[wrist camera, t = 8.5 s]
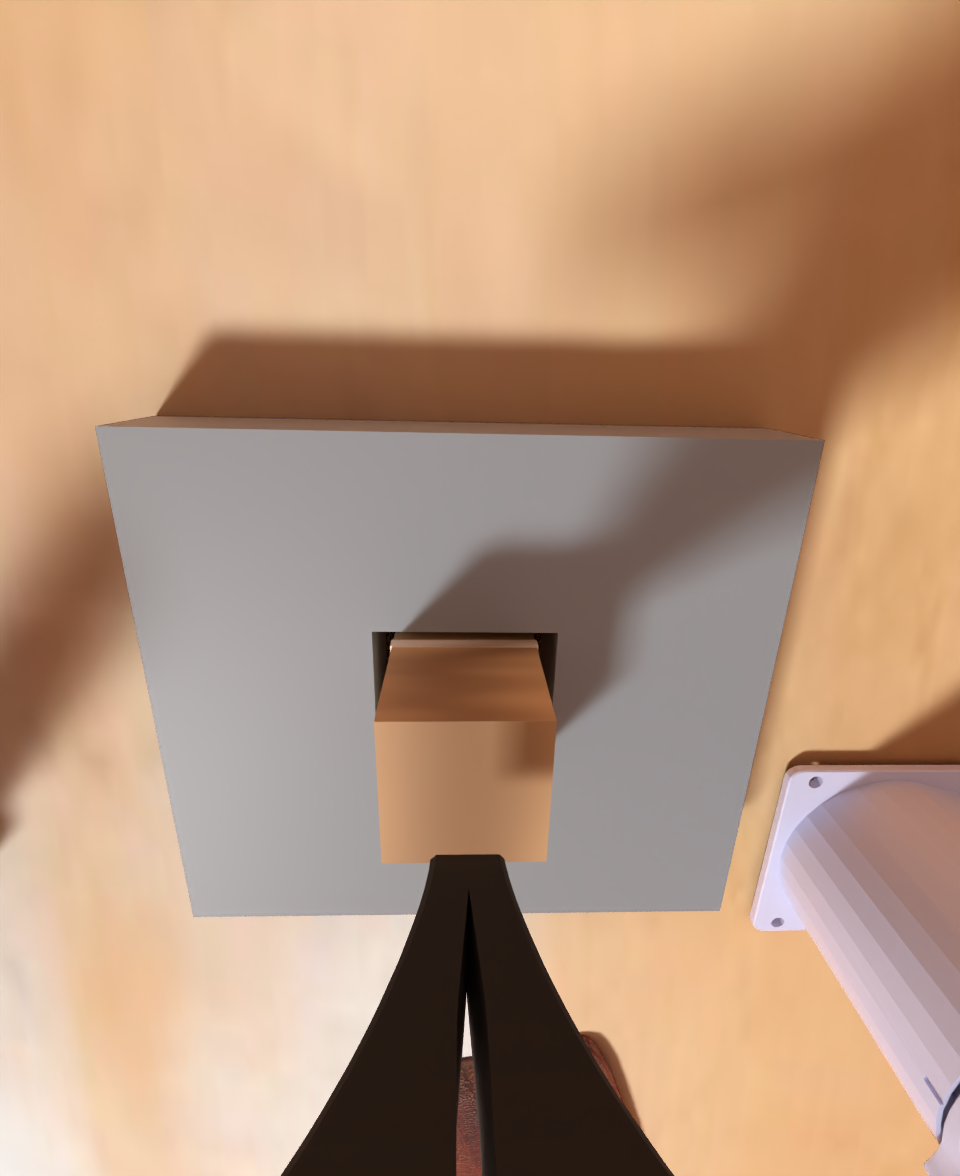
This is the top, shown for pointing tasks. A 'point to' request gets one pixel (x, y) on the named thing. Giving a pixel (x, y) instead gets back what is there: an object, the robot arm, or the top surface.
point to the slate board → (454, 604)
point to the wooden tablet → (468, 1116)
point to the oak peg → (464, 747)
